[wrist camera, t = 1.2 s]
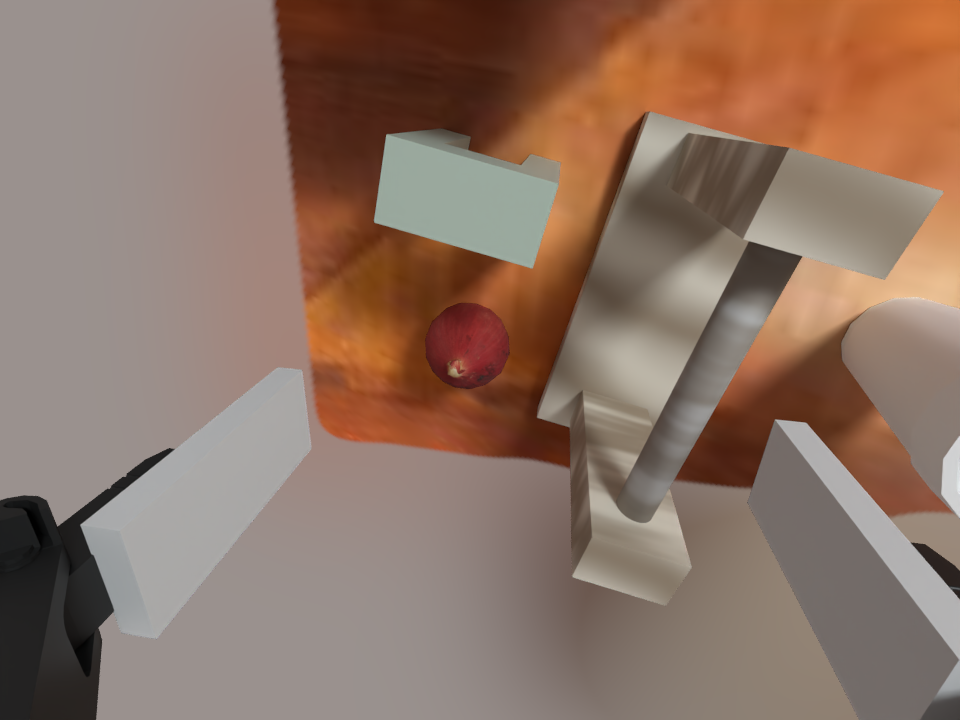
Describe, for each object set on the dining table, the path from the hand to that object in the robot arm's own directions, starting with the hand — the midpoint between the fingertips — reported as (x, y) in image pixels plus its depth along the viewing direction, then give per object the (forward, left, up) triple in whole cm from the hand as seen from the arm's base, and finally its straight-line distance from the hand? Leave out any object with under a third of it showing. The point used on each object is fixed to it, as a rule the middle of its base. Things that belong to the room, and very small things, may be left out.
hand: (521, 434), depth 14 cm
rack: (+2, +8, -23) cm, 24 cm away
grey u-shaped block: (-3, -5, -23) cm, 23 cm away
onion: (+7, -3, -23) cm, 24 cm away
